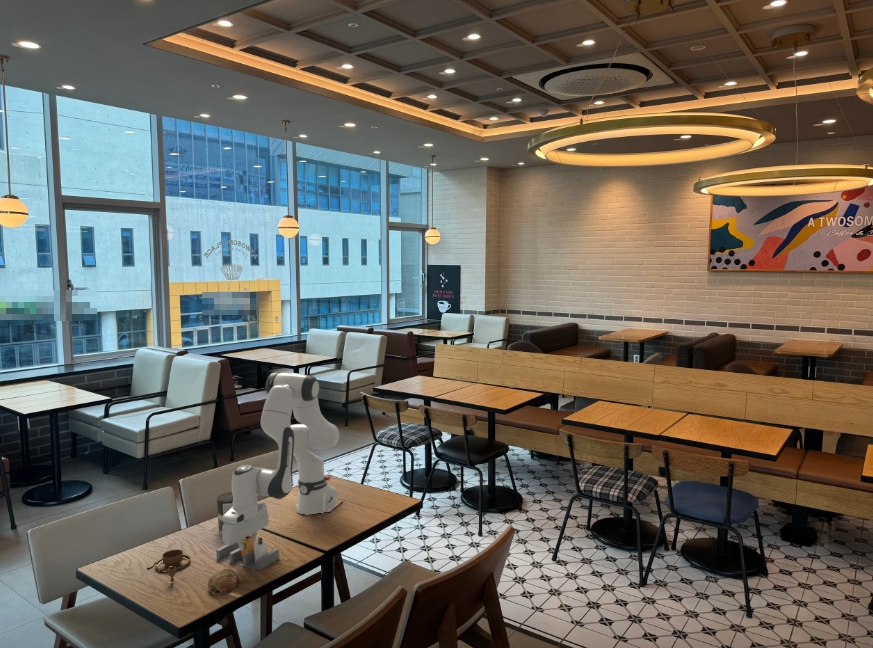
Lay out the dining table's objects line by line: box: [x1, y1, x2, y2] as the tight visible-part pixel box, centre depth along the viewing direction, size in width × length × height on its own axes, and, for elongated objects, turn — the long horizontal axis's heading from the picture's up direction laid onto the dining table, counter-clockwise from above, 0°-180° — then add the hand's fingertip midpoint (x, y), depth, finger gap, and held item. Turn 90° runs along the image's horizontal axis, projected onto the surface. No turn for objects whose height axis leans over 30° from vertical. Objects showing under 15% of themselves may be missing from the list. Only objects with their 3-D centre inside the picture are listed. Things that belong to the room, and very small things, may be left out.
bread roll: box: [207, 568, 240, 595], centre depth 206 cm, size 10×10×8 cm
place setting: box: [154, 549, 191, 583], centre depth 219 cm, size 18×20×6 cm
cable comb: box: [215, 542, 280, 571], centre depth 225 cm, size 10×21×4 cm, turn 63°
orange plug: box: [241, 535, 254, 557], centre depth 224 cm, size 3×4×9 cm
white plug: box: [254, 536, 269, 563], centre depth 221 cm, size 3×4×9 cm
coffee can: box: [216, 491, 233, 535], centre depth 253 cm, size 10×10×14 cm
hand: (247, 546), depth 224 cm, fingers open, 3 cm apart
